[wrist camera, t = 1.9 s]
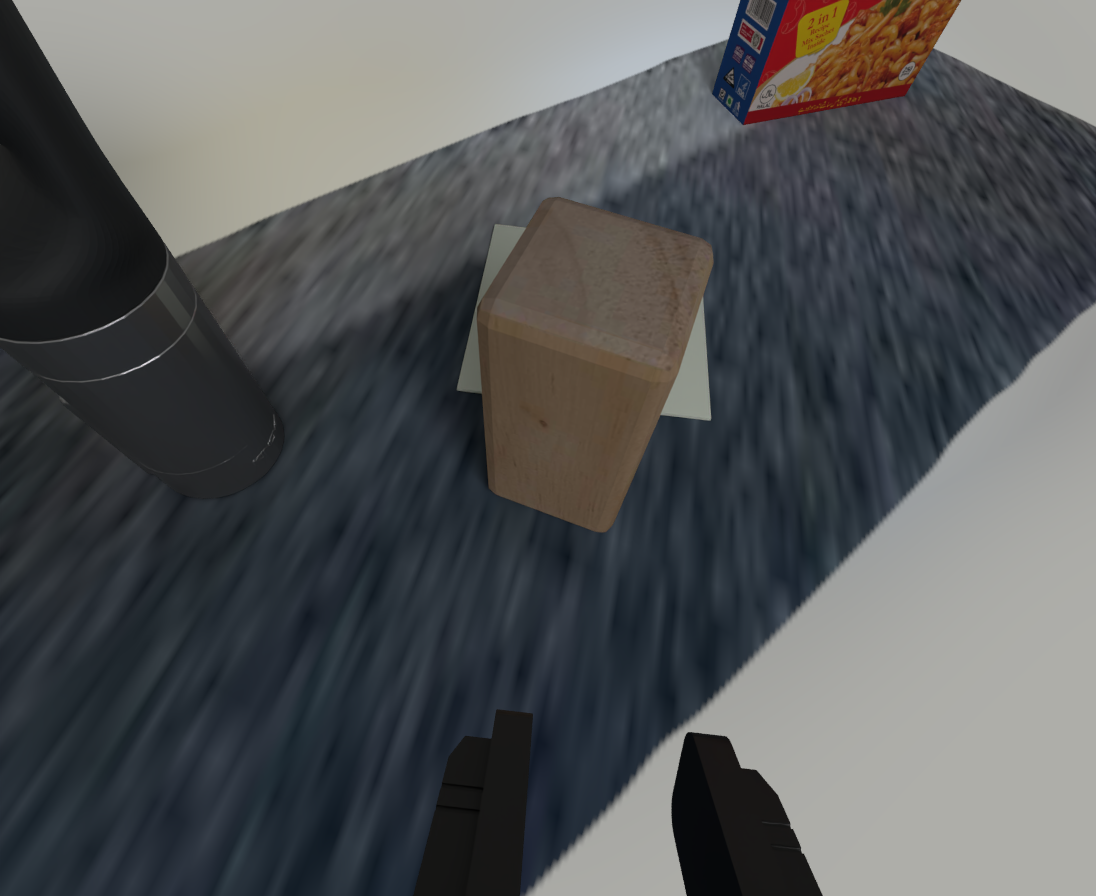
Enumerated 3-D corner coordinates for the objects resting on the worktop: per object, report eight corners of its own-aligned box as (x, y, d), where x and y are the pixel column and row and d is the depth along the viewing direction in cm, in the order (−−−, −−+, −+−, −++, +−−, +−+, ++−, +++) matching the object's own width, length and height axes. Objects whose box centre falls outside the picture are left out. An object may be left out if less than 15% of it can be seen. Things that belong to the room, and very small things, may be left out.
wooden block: (484, 495, 42) (466, 305, 25) (531, 398, 47) (544, 184, 29) (606, 541, 40) (679, 375, 23) (641, 436, 45) (723, 235, 28)
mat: (457, 390, 47) (456, 388, 46) (495, 226, 58) (495, 224, 57) (709, 420, 47) (710, 418, 46) (698, 250, 58) (699, 248, 58)
